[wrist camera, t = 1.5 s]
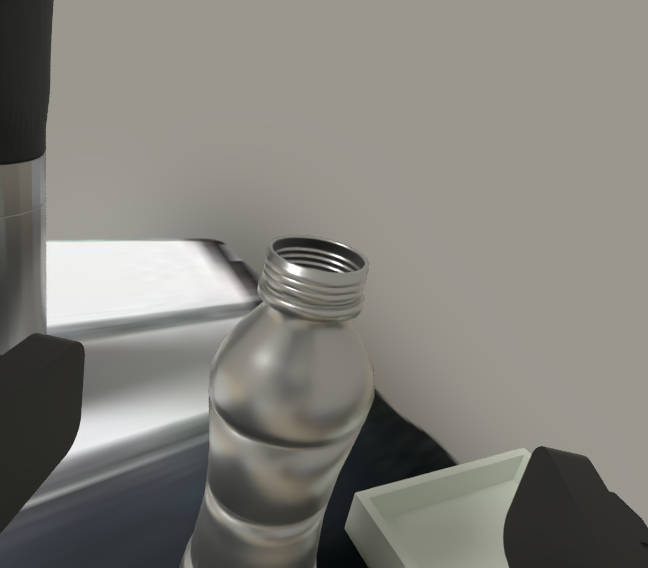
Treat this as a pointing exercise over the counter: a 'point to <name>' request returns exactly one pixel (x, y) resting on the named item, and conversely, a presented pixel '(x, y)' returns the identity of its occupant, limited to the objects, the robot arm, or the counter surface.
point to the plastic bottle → (284, 409)
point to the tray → (439, 516)
